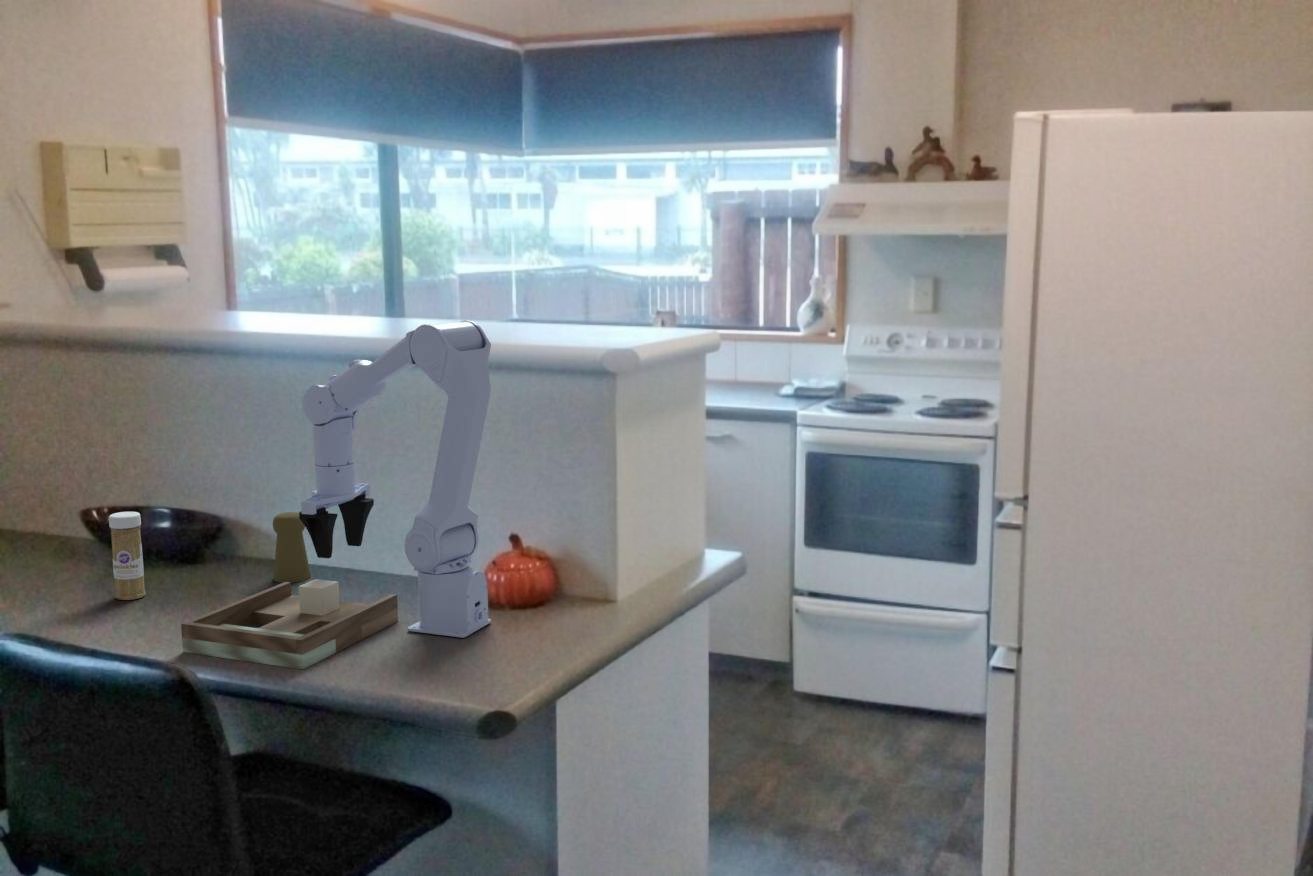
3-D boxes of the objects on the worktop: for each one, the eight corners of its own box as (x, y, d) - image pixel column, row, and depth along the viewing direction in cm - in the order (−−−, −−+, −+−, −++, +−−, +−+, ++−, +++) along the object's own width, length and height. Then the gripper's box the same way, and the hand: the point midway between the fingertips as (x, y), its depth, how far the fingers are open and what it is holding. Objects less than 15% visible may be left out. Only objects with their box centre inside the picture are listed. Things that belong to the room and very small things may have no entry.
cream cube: (339, 608, 182) (338, 581, 181) (322, 615, 178) (321, 588, 177) (317, 605, 183) (315, 579, 182) (300, 612, 179) (298, 586, 179)
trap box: (398, 621, 182) (397, 594, 181) (303, 669, 162) (301, 640, 161) (287, 607, 189) (285, 581, 188) (183, 651, 169) (180, 623, 168)
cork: (300, 583, 202) (296, 517, 200) (266, 581, 203) (262, 516, 202) (317, 573, 208) (313, 509, 206) (284, 572, 209) (280, 508, 207)
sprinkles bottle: (115, 602, 192) (108, 518, 190) (115, 594, 197) (108, 512, 194) (146, 598, 194) (140, 515, 192) (146, 591, 198) (140, 509, 196)
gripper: (341, 454, 194) (345, 538, 196) (281, 470, 181) (287, 560, 183) (379, 456, 191) (383, 541, 194) (322, 473, 178) (327, 564, 180)
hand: (339, 551), depth 188 cm, fingers open, 7 cm apart
